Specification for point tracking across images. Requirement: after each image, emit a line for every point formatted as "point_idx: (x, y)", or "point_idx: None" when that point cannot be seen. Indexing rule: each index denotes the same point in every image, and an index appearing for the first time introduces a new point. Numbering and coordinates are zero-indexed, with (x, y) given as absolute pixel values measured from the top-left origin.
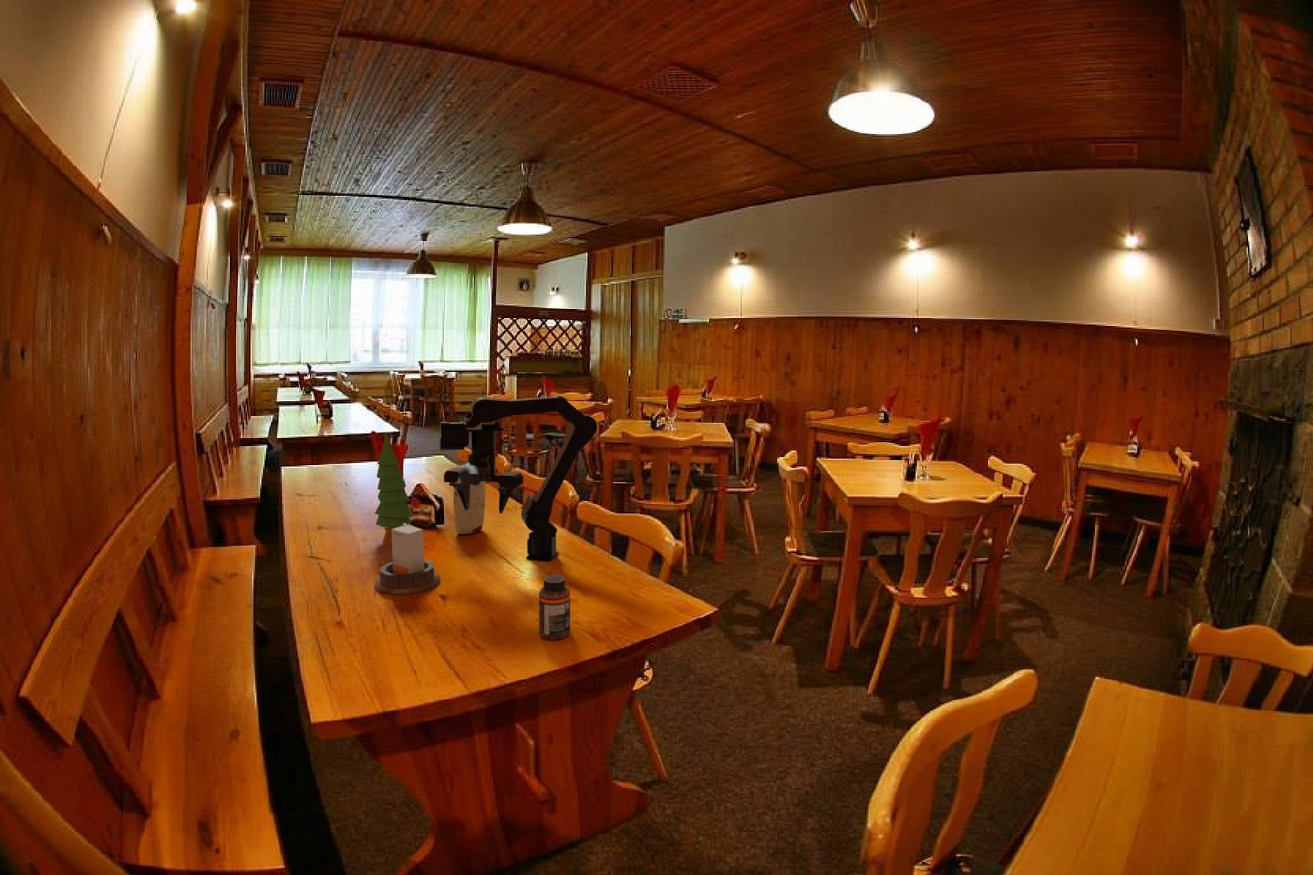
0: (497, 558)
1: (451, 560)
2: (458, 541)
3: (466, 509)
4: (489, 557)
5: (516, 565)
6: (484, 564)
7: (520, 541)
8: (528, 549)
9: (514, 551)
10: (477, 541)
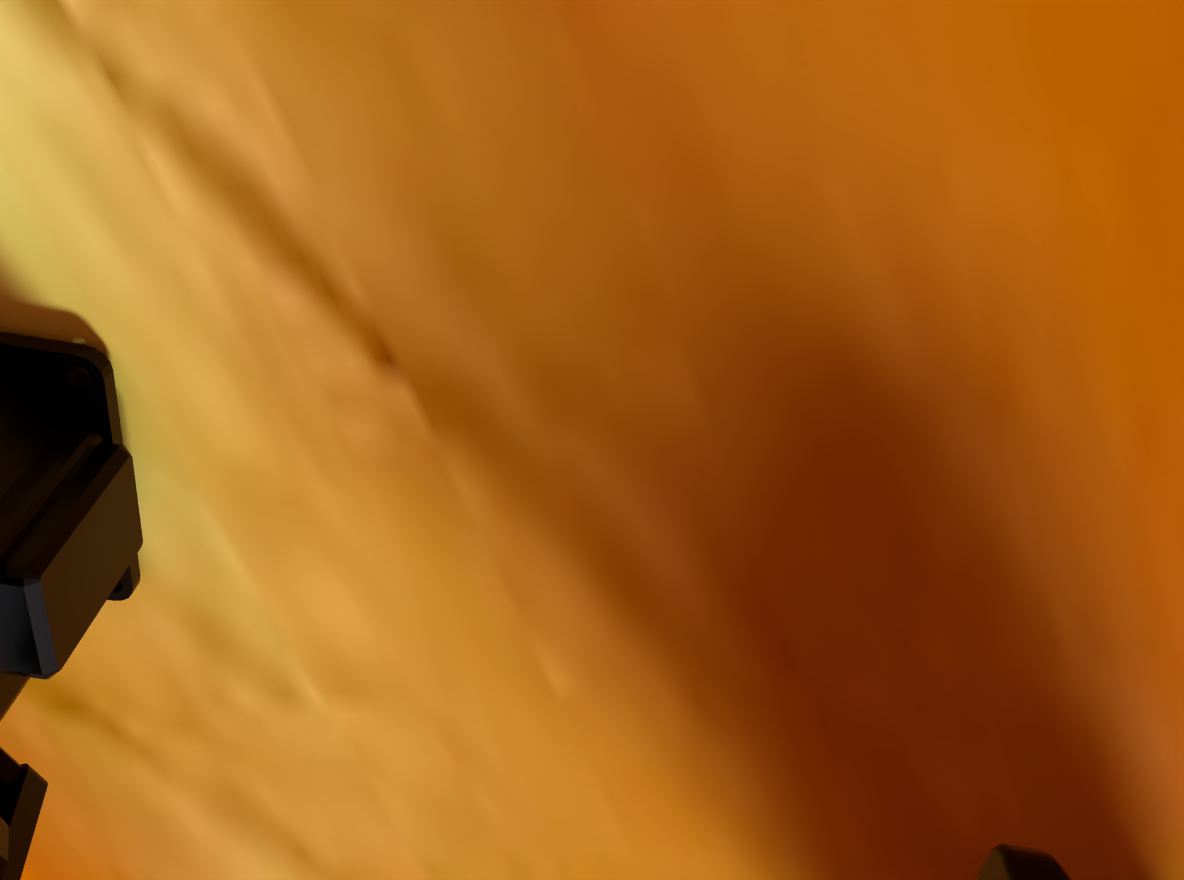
0: (475, 345)
1: (1090, 200)
2: (1116, 801)
3: (1004, 865)
4: (590, 369)
5: (105, 115)
6: (555, 95)
7: (452, 825)
8: (78, 477)
9: (380, 578)
10: (899, 808)
